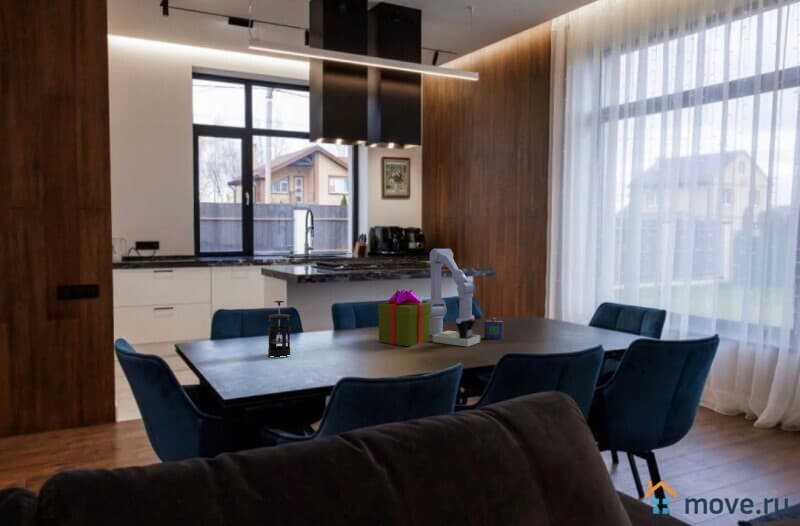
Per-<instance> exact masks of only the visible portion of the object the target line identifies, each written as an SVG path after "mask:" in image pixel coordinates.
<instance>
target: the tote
mask: <svg viewBox="0 0 800 526" xmlns="http://www.w3.org/2000/svg"><path fill="white" fill-rule="evenodd" d="M481 338H482V337H481V335H478V334H472V338H470V339H459V332H457V338H452V337H444V336H439V334H436V335H433V336H432V343H437V344H438V343H440V344H446V345H454V346H461V347H469V346H473V345H475V344H478V343H481Z"/></svg>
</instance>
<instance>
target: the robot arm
mask: <svg viewBox="0 0 800 526" xmlns="http://www.w3.org/2000/svg"><path fill="white" fill-rule="evenodd" d="M429 265H430V299H428V300H427V301H426V302H425V303H430V316H429V336H431V337H433V335H436V334H439V333H441V332H444V330H443V329H444V323H443V322H444V318H445V317H446V315H447V311H448V310H447V306H446V301H445V300H444V299H442V268H443V266H444V265H445V266H446V267H447V268H448V269H449V271H450V272H451V278H452V279H453V281H454V283H455V284H456V286H457V287H456V290H457V291H456V292H457V293H458V298H459V305H458V306H459V311H458V312H459V313H458V315H459V317H458V318H456V319H455V325H456V327H457V329H458V333H460V338H465V336H466V329H467V328H469V329H472V330H473V327H474V325H475V323H476V320H475V315H473V313H472V312H473V307H472V306H473V294H474V293H475V291H476V288H475V284H474V282H473V281H471V280H469V279H468V277H467V276H466V275H465V273H464V271H463V270H461V269H459V268H458V266H457V264H456V261H455V260H454V252H453V250H452V249H451V248H433V249H431V251H430V252H429Z"/></svg>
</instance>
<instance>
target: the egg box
mask: <svg viewBox="0 0 800 526" xmlns="http://www.w3.org/2000/svg"><path fill="white" fill-rule="evenodd" d="M457 333H458V331H455V330H444V331H443V332H441V333H439V336H444V337H452V338H457Z"/></svg>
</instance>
